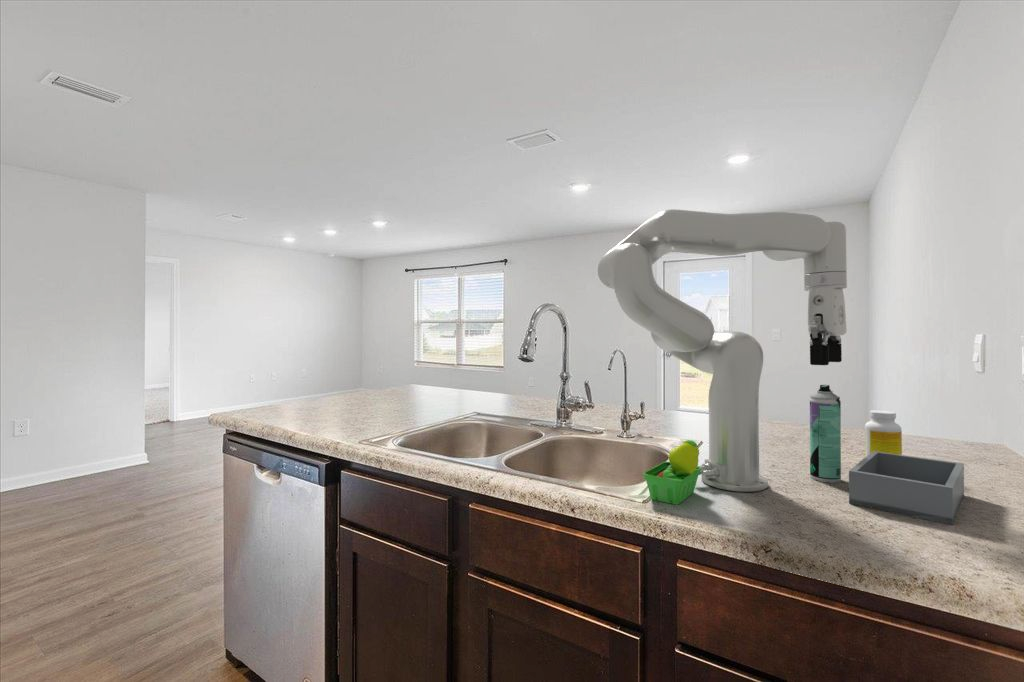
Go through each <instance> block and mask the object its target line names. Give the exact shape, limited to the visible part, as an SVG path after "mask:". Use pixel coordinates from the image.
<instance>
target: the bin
mask: <svg viewBox="0 0 1024 682" xmlns="http://www.w3.org/2000/svg"><path fill="white" fill-rule="evenodd" d="M964 495H965V463H964V462H956V461H951V460H950V461H949V460H948V461H947V460H942V459H934V458H928V457H927V458H926V457H920V456H913V455H912V456H911V455H906V454H905V455H904V454H902V455H899V454H892V453H885V452H877V451H872V452H871V453H870V454H869V455H868V456H866V457H865V456H864V458H863V459H861V460H860V461H859V462H857V463H856V464H855V465H854V466H853V467H852V468H851V469H850V470H848V503H850V505H854V504H855V506H859V505H860V506H859V507H863V506H864V507H863V508H869V509H873V510H879V511H883V512H887V513H888V512H889V513H892V512H894V513H893V514H897V513H898V515H902V514H903V516H907V515H908V516H907V517H911V516H912V518H916V517H917V518H918V519H921V518H922V519H923V520H927V521H930V522H931V521H932V522H935V523H936V522H937V523H941V524H945V525H951V526H953V524H954V523H955V519H956V517H957V515H956V514H958V512H959V509H960V506H961V503H962V502H963V499H964V497H965V496H964ZM917 518H916V519H917Z"/></svg>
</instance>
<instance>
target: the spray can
mask: <svg viewBox="0 0 1024 682" xmlns="http://www.w3.org/2000/svg"><path fill="white" fill-rule="evenodd" d="M809 397H810V399H809V475H810V476H809V477H811V478H810V479H812V480H814V481H816V480H818V482H820V481H822V482H821V483H827V482H828V484H829V482H830V484H831V483H832V484H836V482H838V483H840V482H841V479H842V461H841V460H842V458H841V457H842V454H841V453H842V452H841V451H842V448H841V447H842V446H841V445H842V443H841V440H842V437H841V435H842V434H841V431H842V430H841V429H842V427H841V425H842V424H841V416H842V414H841V410H842V409H841V408H842V407H841V400H840V399H841V398H840V396H838V395H837V394H835V393H834V391H833V390H832V389H831V387H830V385H829V384H820V385H819V388H818V390H816V392H815V393H814V394H811V395H810V396H809Z"/></svg>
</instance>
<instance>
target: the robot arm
mask: <svg viewBox="0 0 1024 682" xmlns="http://www.w3.org/2000/svg"><path fill="white" fill-rule="evenodd" d="M755 252H762V253H763V255H765V256H766V257H767V258H768V259H770V260H773V261H777V262H786V261H790V260H798V259H803V282H804V283H803V284H804V288H803V289H804V291H807V292H808V298H807V299H808V300H807V302H808V303H807V306H808V307H807V327H808V328H807V329H808V334H809V362H810V365H811V366H828V365H829V364H830V363H841V362H843V361H842V359H843V358H842V357H843V356H842V338H841V336H844V335H846V334H847V321H846V319H847V317H846V302H845V301H846V300H845V295H844V289H847V288H848V286H847V285H848V284H847V283H848V282H847V281H848V280H847V279H848V277H847V228H846V225H845V223H843V222H840V221H825V220H824V219H823V218H821V217H819V216H817V215H815V214H814V215H813V214H808V213H798V212H797V213H796V212H785V211H784V212H783V211H781V212H779V211H778V212H777V211H773V212H771V211H770V212H754V213H753V212H750V213H748V212H745V213H744V212H742V213H719V212H707V211H696V210H687V209H675V208H674V209H665V210H662V211H660V212H658V213H657V214H655V215H654V216H652V217H651V218H648V219H647V220H646V221H644V223H642V224H641V225H640V226H639V227H638V228H636V229H635V230H634V231H633V232H631V234H629V235H628V236H627V237H626V238H624V239H623V240H621V241H620V242H619V243H618V244H617V245H615V246H614V247H613V248H612V249H610V250H609V251H608V252H606V253H605V254H604V255H603V256H602V257H601V259H600V260H599V263H598V264H597V275H598V278H599V281H600V282H601V283H602V284H603V285H604V286H605V287H608V288H609V289H612V290H614V294H615V296H616V299H617V302H618V303H619V306H620V308H621V310H622V311H623V313H624V314H626V316H627V317H628V318H629V319H630V320H631V321H632V322H634V323H636V324H637V325H639V326H641V327H642V328H643V329H645V330H647V331H649V332H650V335H651V338H652V340H653V342H654V343H655V345H656V346H658V347H659V348H660V349H661V350H663V351H664V352H666V353H668V354H669V355H671V356H673V357H674V358H676V359H678V360H680V361H681V362H683V363H685V364H687V365H689V366H691V367H692V368H695V369H696V370H698V371H700V372H703V373H706V374H709V375H712V378H711V382H710V385H709V391H708V457H709V458H706V459H704V463H702V464H701V465H698V466H697V467H700V468H701V470H700V473H699V475H698V476H700V475H701V481H702V482H703V483H705V484H706V485H708V486H711V487H713V488H716V489H720V490H724V491H725V490H726V491H732V492H738V493H739V492H741V493H742V492H745V493H747V492H748V493H749V492H759V491H763V490H765V489H767V488H768V485H769V481H768V479H767V478H766V477H764V476H763V475H761V474H760V408H759V407H760V405H759V404H760V403H759V401H760V400H759V396H760V393H759V392H760V390H759V389H760V383H761V382H760V381H761V378H762V377H761V375H762V371H763V366H764V352H763V347H762V346H761V344H760V342H759V341H758V340H757V339H756V338H755V337H754V336H752V335H750V334H748V333H745V332H742V331H735V330H734V331H727V330H724V331H715V327H714V324H713V321H712V320H711V319H710V317H709V316H708V315H707V314H706V313H704V312H702V311H701V310H699V309H697V308H695V307H693V306H691V305H689V304H688V303H686V302H684V301H682V300H681V299H678V298H677V297H675V296H673V295H672V294H671V293H669V292H667V291H666V290H664V289H663V288H662V287H660V286H659V284H658V282H657V281H656V278H655V277H654V272H653V265H654V264H655V263H657V261H659V260H660V259H661V258H662V257H663V256H664V255H667V254H669V253H681V254H696V255H697V254H698V255H707V256H717V257H721V256H722V257H726V256H737V255H742V254H748V253H755Z"/></svg>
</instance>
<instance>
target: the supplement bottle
mask: <svg viewBox="0 0 1024 682" xmlns="http://www.w3.org/2000/svg"><path fill="white" fill-rule="evenodd" d="M869 416H870V418H871V419H870V421H867V422H866V423H865V425H864V458H865V457H866V456H868V455H869V454H870V453H871V452H872V451H877V452H885V453H892V454H899V455H903V454H902V453H903V451H902V450H903V449H902V448H903V447H902V446H903V445H902V443H903V441H902V438H903V436H902V435H903V433H902V426H900V425H899V423H897V422H895V420H896V418H897V413H896V412H895V411H891V410H882V409H878V410H877V409H876V410H875V409H873V410H872V409H871V410H870V411H869Z"/></svg>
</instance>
